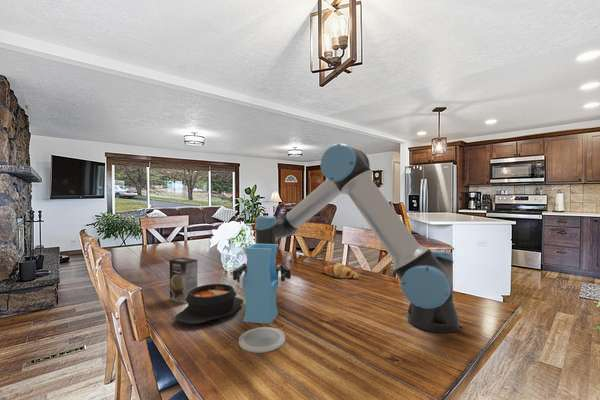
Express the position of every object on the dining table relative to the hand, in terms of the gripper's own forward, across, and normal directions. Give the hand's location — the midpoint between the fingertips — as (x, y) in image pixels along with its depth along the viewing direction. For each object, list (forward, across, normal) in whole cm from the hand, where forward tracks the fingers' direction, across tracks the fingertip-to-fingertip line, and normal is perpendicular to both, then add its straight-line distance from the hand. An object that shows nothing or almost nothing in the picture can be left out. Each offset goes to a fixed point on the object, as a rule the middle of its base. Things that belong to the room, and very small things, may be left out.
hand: (260, 282), depth 76 cm
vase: (-4, 0, -11) cm, 12 cm away
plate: (-4, 0, -18) cm, 18 cm away
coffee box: (-40, +33, -18) cm, 55 cm away
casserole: (-25, +18, -18) cm, 36 cm away
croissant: (-67, -36, -18) cm, 78 cm away
